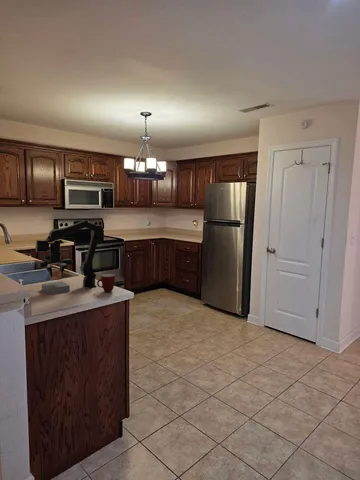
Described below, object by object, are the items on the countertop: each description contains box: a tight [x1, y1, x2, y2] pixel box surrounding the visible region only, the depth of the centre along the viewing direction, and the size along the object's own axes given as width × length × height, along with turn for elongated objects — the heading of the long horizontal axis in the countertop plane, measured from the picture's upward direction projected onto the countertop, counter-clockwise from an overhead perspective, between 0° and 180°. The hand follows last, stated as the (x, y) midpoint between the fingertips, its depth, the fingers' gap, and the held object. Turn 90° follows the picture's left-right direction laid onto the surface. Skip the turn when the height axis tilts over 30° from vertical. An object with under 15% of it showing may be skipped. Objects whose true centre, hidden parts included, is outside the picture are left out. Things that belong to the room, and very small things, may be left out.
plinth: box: [41, 280, 71, 295], centre depth 186 cm, size 12×12×4 cm
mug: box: [96, 273, 116, 293], centre depth 187 cm, size 11×8×10 cm
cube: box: [49, 269, 62, 281], centre depth 186 cm, size 5×5×5 cm
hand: (55, 277), depth 186 cm, fingers closed on cube, 5 cm apart
